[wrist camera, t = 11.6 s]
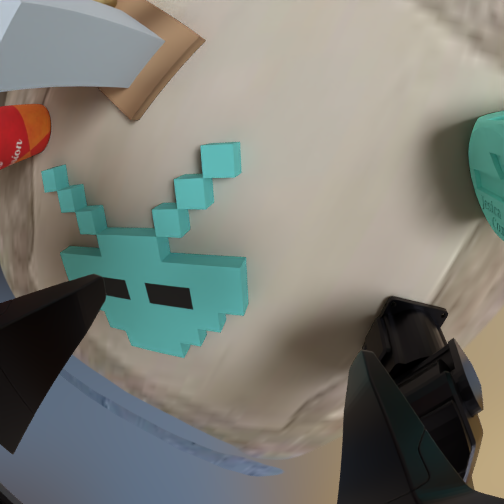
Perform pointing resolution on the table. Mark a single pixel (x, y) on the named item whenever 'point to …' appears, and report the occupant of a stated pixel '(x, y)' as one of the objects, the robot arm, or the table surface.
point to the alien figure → (159, 262)
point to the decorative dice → (489, 167)
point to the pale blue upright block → (71, 45)
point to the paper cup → (23, 132)
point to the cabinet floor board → (163, 61)
